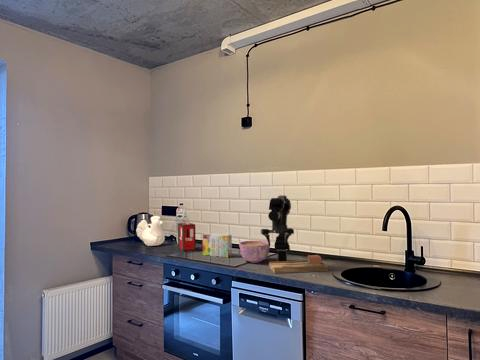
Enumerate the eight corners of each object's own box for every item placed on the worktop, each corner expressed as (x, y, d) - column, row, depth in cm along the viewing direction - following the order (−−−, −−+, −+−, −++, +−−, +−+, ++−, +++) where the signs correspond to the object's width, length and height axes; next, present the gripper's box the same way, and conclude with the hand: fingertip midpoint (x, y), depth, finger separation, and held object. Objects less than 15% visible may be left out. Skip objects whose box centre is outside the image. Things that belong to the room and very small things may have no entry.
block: (307, 262, 196) (307, 255, 196) (317, 261, 197) (317, 255, 197) (311, 264, 190) (311, 257, 190) (321, 264, 191) (321, 257, 191)
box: (269, 266, 195) (269, 261, 195) (318, 264, 198) (318, 259, 198) (274, 273, 179) (274, 268, 179) (328, 271, 183) (328, 265, 183)
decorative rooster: (168, 245, 278) (168, 215, 278) (155, 248, 264) (155, 216, 265) (146, 243, 290) (146, 214, 291) (132, 245, 276) (132, 215, 277)
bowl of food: (268, 265, 198) (268, 246, 198) (236, 264, 202) (235, 245, 202) (272, 258, 217) (272, 240, 218) (242, 257, 221) (242, 240, 222)
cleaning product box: (195, 251, 246) (195, 224, 246) (183, 252, 242) (183, 225, 243) (189, 248, 261) (189, 222, 261) (178, 249, 257) (177, 223, 258)
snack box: (232, 256, 226) (232, 234, 226) (227, 258, 221) (227, 235, 222) (207, 253, 237) (206, 232, 237) (202, 255, 232) (202, 233, 232)
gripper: (263, 221, 186) (264, 249, 186) (296, 220, 188) (296, 248, 188) (260, 219, 197) (260, 245, 197) (291, 218, 199) (291, 244, 199)
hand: (277, 246), depth 195 cm, fingers open, 9 cm apart
